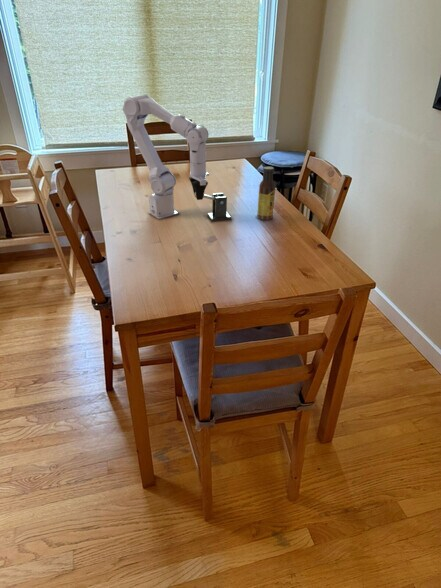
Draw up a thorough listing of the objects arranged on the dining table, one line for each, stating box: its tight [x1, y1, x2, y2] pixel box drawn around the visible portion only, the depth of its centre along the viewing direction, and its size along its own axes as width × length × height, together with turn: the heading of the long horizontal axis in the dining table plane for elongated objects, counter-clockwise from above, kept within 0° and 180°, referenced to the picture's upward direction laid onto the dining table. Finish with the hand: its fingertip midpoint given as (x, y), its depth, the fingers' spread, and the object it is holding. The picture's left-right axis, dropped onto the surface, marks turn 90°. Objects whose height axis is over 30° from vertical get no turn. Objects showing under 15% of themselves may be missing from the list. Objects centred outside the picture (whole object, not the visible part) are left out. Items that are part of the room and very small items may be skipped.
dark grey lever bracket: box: [207, 192, 232, 223], centre depth 160 cm, size 8×6×9 cm
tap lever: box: [193, 192, 221, 201], centre depth 156 cm, size 12×3×3 cm, turn 108°
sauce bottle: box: [257, 166, 276, 221], centre depth 157 cm, size 7×6×20 cm
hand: (198, 197), depth 155 cm, fingers closed on tap lever, 3 cm apart
